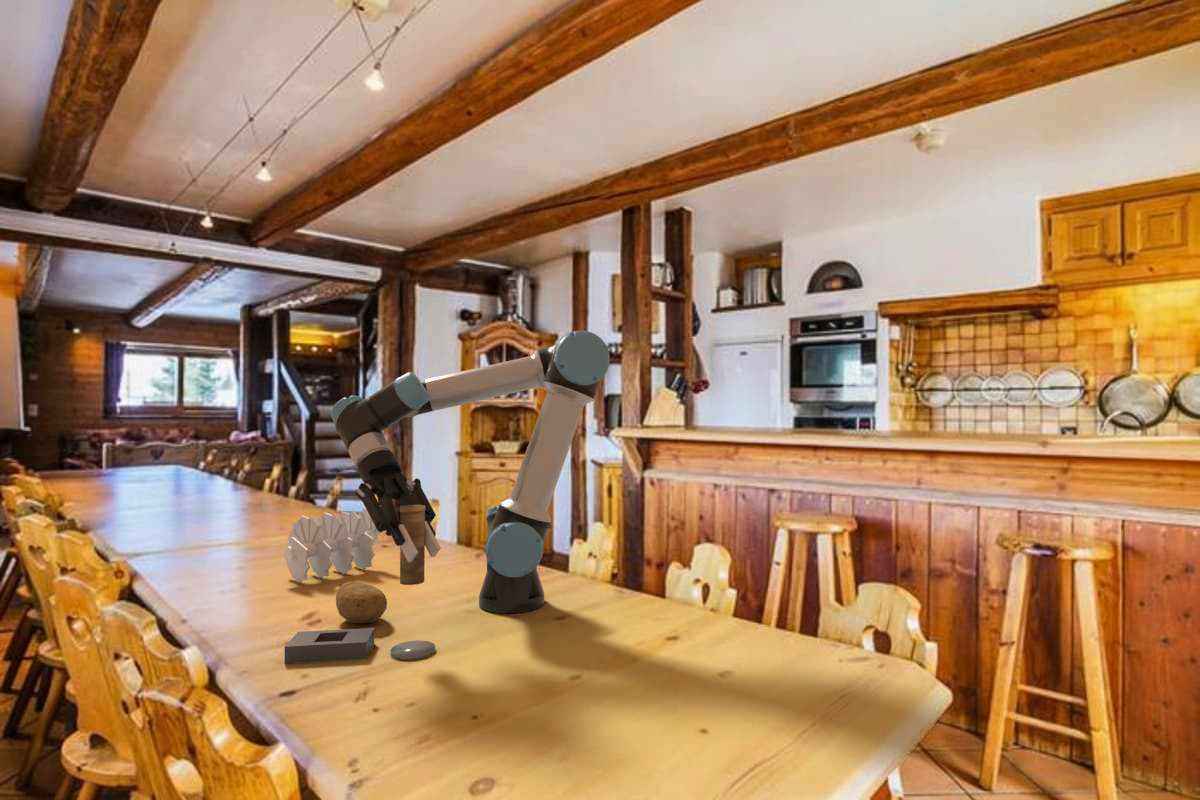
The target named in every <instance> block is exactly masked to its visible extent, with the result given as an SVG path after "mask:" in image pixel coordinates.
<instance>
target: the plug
mask: <svg viewBox="0 0 1200 800" xmlns="http://www.w3.org/2000/svg"><path fill="white" fill-rule="evenodd" d="M399 512H400V516H399V517H400V518H399V519H400V523H399V525H401V524H403V525H404V526H405V528H406V530H407V532H408V534H409V536H410V538H411V540H412V542H413V544H414V545H415V547H416V549H417V551H418V553H417V555H416V556H415V558H414V559H413V561H412V562H408V561H407V559H406V557H405V555H404V553H403V551H402V549H401V547H400V546H399V547H400V548H399V552H400V553H399V584H401V585H403V586H414V585H415V586H416V585H421V584H423V583H425V562H426V561H425V557H426V556H425V548H426V547H425V505H404V506H402V505H401V506H399Z"/></svg>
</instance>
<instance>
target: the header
mask: <svg viewBox="0 0 1200 800" xmlns="http://www.w3.org/2000/svg"><path fill="white" fill-rule="evenodd" d="M374 645H375V627H368V628H367V627H366V628H365V627H364V628H348V629H346V628H345V629H329V630H328V629H327V630H308V631H307V630H306V631H297V632H296V633H295V635H293V637H292V638H291V639H290V640H289V641H288V642H287V643H286V645H284V664H299V663H300V664H302V662H303V663H316V662H317V663H319V661H320V662H333V661H334V662H335V661H350V660H351V659H354V660H366V659H368V656H369V655H370V653H371V651H372V649H373V647H374ZM368 654H369V655H368ZM351 661H352V660H351Z"/></svg>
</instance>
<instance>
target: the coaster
mask: <svg viewBox="0 0 1200 800" xmlns="http://www.w3.org/2000/svg"><path fill="white" fill-rule="evenodd" d="M435 652H436V645H435V643H434V642H432V641H429V640H421V639H420V640H419V639H418V640H407V641H404V642H400V643H397V644H395V645H394V646H392V647H391V649H390V657H391V658H393V659H395V660H399V661H414V660H415V661H416V660H422V659H425V658H428V657H430V656H432V655H433V654H434V653H435Z"/></svg>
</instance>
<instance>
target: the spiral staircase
mask: <svg viewBox="0 0 1200 800" xmlns="http://www.w3.org/2000/svg"><path fill="white" fill-rule="evenodd" d="M291 525H292V527H291V529H290V531H289V534H288V537H287V540H288V541H287V542H286V543H287V544H286V545H287V546H286V547H285V548H284V553H283V554H284V558H285V561H286V565H287V566H286V567H287V569H288V571H289V574H290V575H291V578H292V579H294V580H295V581H296V582H297V583H299V584H302V583H303V581H307V580H308V571H309V570H310V568H311V569H312V572H313V573H315V574H316V575H317V576H318V577H319V578H320V579H323V578H324V577H329V576H330V572H329V570H330V569H331V568H332V566H333V567H334V568H335V570H336V572H337V573H341V574H342V575H344V574H345V575H344V576H347V575H348V572H349V571H352V570H353V565H352V562H353V563H354V565H355V568H357V567H358V568H360V569H361V570H362V569H363V570H362V571H364V570H365V569H367V568H371V567H373V564H372V560H373V559H374V557H375V555H376V553H375V552H374V549H373V546H374V544H375V543H376V542H377V541H378V539H379V536H380V535H381V534H382V533H384V532H385V531H382V532H379V531H378V530H377V529H376V527H375V525H374V523H373V521H372V519H371V517H370V515H369V513H368V511H367V509H366V508H364V507H363V508H362V511H360V512H359V513H356V511H355V510H354V509H351V510H350V512H346V511H342V512H341V515H339V516H338V515H337V512H334V513H333V515H332V514H331V513H328V512H326V511H323V515H320V516H318V517H314V515H310V517H307V516H306V515H300V519H297V520H296V521H295V522H293V523H292V524H291ZM365 571H366V570H365ZM346 574H347V575H346ZM301 582H302V583H301Z"/></svg>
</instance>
